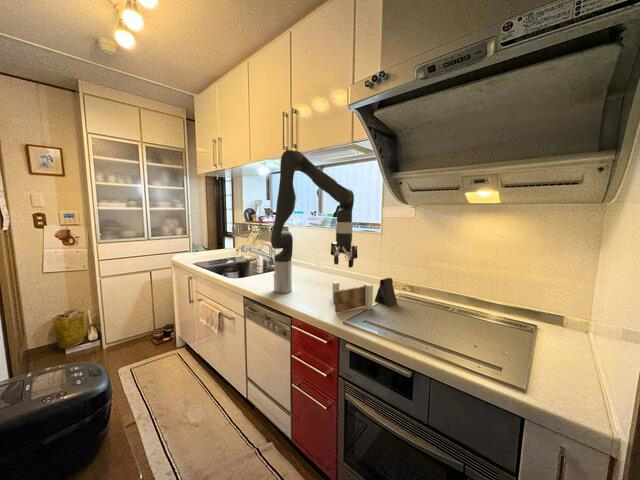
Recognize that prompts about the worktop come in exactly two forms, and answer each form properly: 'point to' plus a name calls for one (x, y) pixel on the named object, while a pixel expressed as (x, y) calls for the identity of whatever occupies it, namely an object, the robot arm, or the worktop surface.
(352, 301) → the door
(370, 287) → the hinge post
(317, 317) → the worktop surface
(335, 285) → the post
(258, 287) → the worktop surface
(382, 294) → the door stopper
